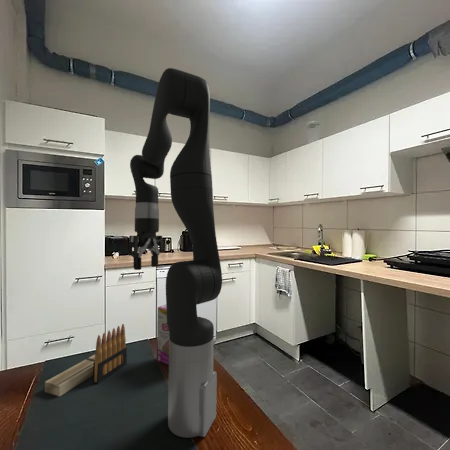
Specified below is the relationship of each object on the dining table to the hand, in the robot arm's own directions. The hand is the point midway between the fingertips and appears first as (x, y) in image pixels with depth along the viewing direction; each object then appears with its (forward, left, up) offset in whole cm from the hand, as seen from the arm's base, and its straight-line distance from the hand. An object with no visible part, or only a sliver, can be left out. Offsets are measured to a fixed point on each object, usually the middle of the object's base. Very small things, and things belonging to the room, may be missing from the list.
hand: (146, 268), depth 82 cm
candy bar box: (-12, +1, -28) cm, 30 cm away
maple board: (+8, +16, -27) cm, 33 cm away
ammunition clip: (+2, +12, -28) cm, 30 cm away
